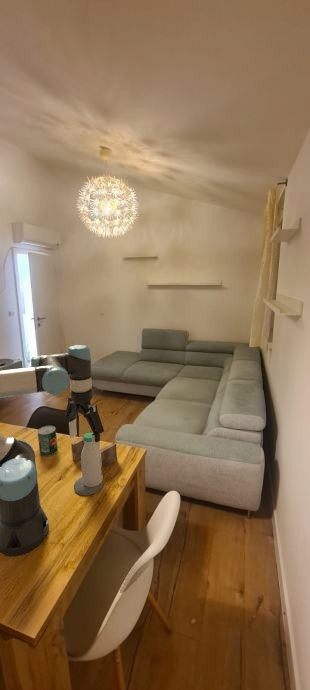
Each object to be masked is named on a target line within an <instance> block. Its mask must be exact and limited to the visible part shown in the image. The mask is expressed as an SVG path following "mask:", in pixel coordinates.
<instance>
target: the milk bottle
mask: <svg viewBox="0 0 310 690" xmlns="http://www.w3.org/2000/svg"><path fill="white" fill-rule="evenodd" d="M92 433H93V431H90V432H87V433H85V434H84V435H83V437H84V442H85V443H84V447H83V450H82V453H81V458H80V464H81V477H82V480H83V484H84V485H85V486H87V487H95V486H98V485H99V484H100V483H101V482H102V480H103V479H104V478H103V477H104V476H103V470H102V459H101V452H100V450H101V449H100V448H99V449H97V450H95V451H93V450H92Z"/></svg>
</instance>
